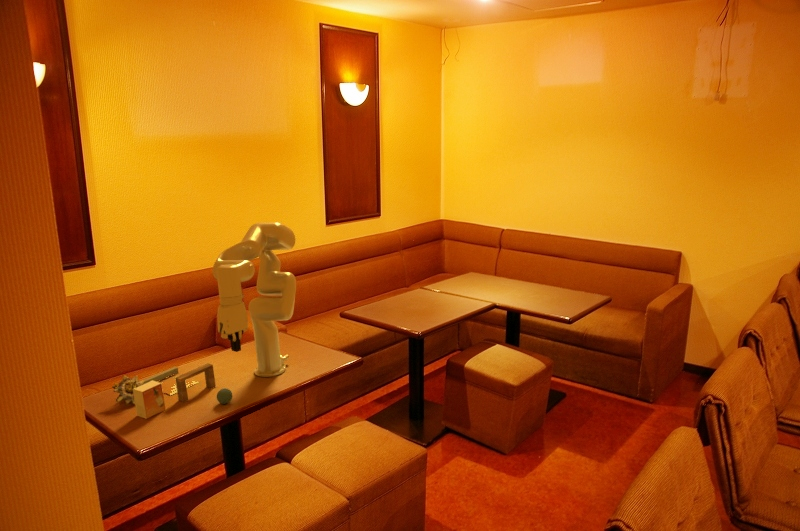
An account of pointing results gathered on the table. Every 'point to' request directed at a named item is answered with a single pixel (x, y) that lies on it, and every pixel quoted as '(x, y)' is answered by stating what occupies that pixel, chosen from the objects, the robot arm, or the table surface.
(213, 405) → the table surface
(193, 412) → the table surface
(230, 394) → the ball
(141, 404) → the small box
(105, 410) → the table surface
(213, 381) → the bridge
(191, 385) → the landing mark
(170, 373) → the grey square bar
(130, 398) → the passion flower
